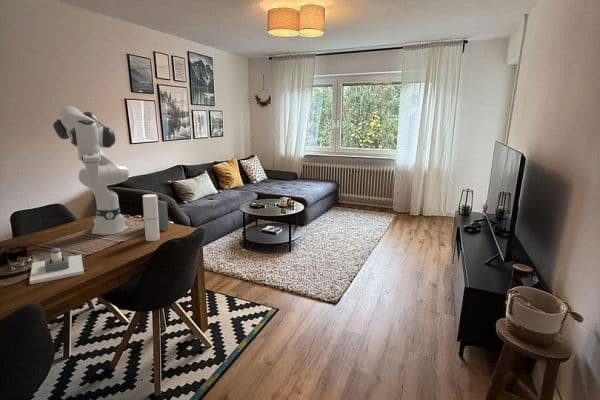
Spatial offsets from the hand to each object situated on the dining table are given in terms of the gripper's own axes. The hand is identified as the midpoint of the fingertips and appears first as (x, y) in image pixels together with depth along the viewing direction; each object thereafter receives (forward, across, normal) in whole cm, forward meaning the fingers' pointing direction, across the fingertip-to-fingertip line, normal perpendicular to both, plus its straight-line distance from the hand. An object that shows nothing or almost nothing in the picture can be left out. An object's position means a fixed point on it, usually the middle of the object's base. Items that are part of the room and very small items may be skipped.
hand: (93, 185), depth 154 cm
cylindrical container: (+34, -7, +26) cm, 44 cm away
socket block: (+34, +13, -17) cm, 40 cm away
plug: (+33, +13, -17) cm, 39 cm away
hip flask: (+34, -24, +32) cm, 53 cm away
